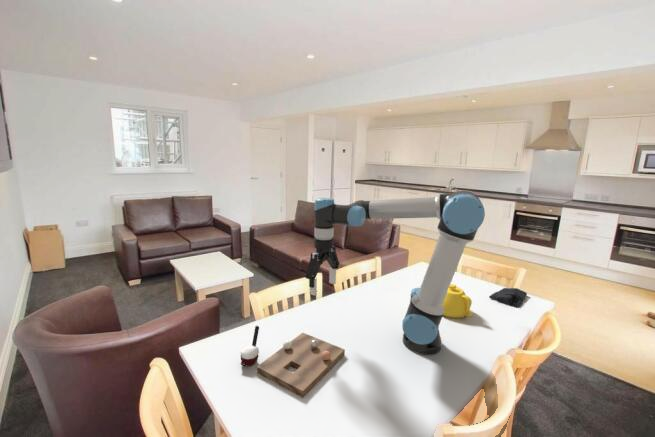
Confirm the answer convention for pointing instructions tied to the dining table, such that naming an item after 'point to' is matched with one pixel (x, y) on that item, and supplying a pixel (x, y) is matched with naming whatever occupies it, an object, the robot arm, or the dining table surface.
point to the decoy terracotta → (326, 355)
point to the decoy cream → (287, 344)
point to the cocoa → (250, 351)
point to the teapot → (456, 303)
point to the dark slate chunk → (509, 296)
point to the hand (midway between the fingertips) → (323, 288)
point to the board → (300, 364)
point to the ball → (313, 344)
